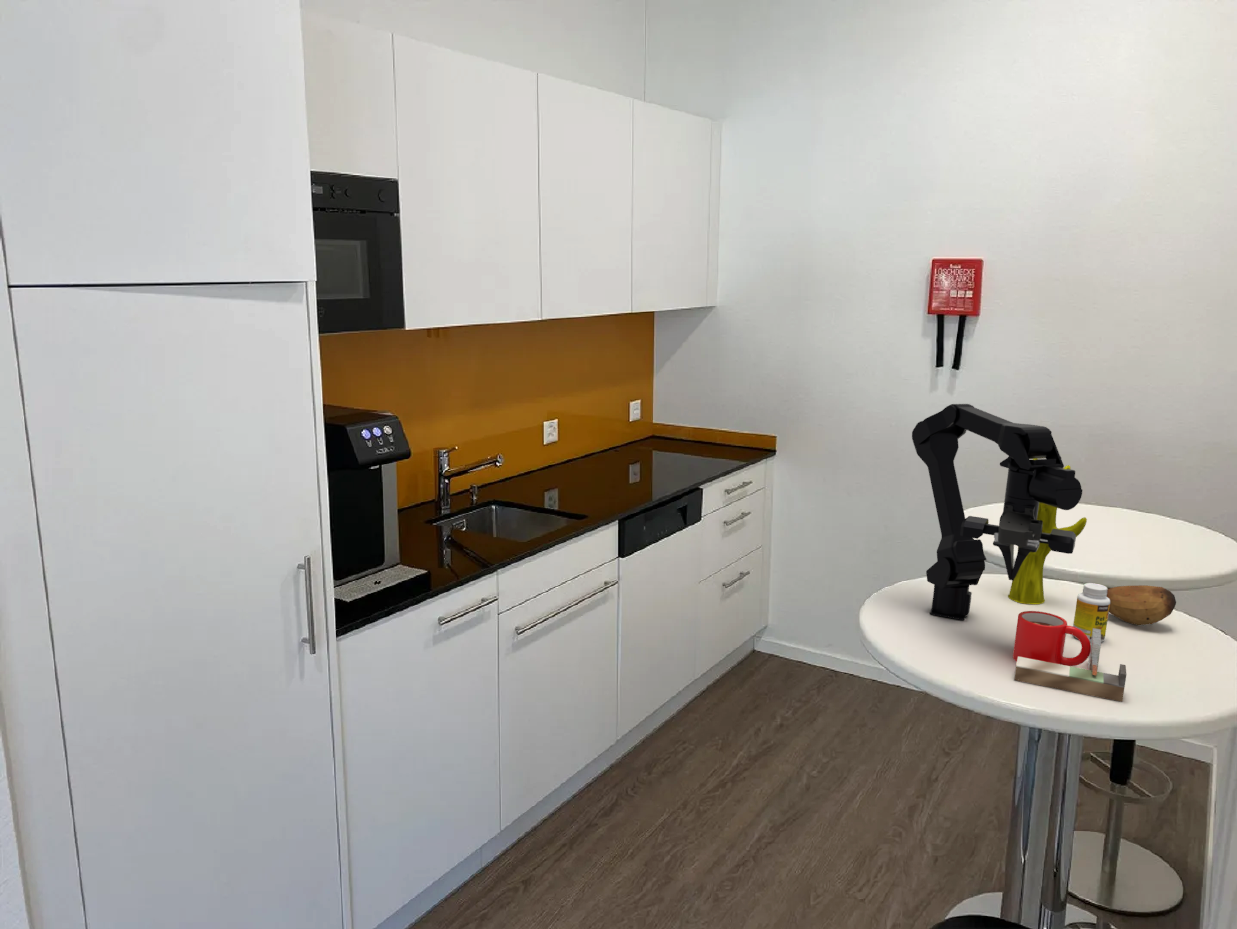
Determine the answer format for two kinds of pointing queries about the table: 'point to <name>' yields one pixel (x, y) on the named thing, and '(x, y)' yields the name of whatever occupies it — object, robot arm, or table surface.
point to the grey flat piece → (1094, 651)
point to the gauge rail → (1071, 678)
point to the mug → (1047, 638)
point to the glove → (1038, 559)
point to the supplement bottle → (1092, 610)
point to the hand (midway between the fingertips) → (1011, 579)
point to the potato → (1140, 603)
